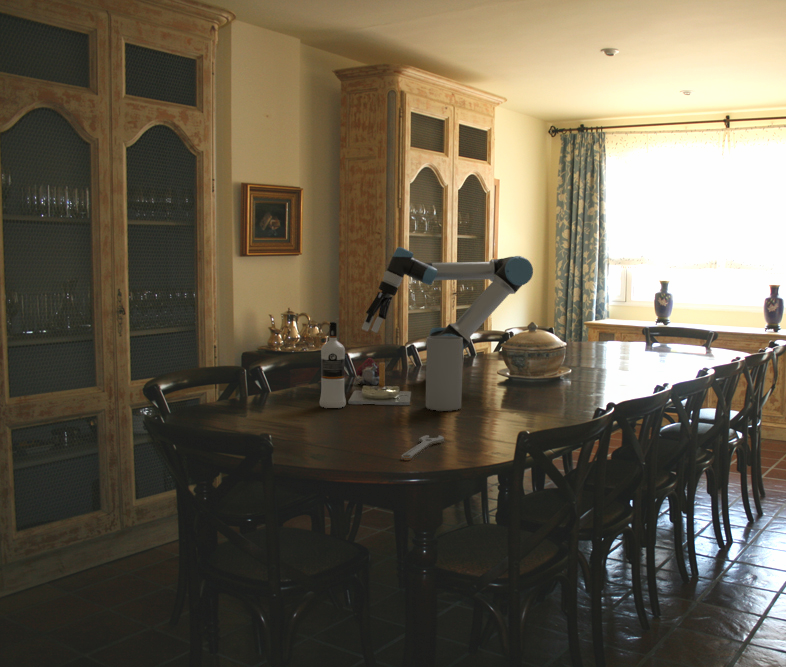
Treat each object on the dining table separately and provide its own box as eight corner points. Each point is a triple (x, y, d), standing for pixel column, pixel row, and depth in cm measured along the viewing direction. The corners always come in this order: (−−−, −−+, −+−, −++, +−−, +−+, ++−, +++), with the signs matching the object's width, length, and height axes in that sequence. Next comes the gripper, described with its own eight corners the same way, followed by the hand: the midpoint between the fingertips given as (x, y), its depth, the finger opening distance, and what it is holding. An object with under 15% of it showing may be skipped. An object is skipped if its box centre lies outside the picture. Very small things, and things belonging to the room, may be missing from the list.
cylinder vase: (418, 407, 258) (419, 337, 256) (443, 403, 266) (445, 335, 264) (442, 413, 249) (444, 340, 247) (468, 409, 257) (470, 338, 255)
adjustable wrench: (409, 463, 188) (409, 456, 188) (387, 460, 191) (387, 453, 191) (446, 442, 211) (446, 435, 211) (426, 439, 214) (426, 433, 213)
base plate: (410, 394, 284) (411, 390, 284) (409, 405, 262) (409, 401, 262) (354, 393, 285) (354, 389, 285) (348, 404, 263) (348, 400, 263)
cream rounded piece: (400, 392, 280) (400, 363, 279) (398, 399, 266) (399, 368, 265) (363, 391, 281) (364, 362, 280) (360, 398, 267) (360, 367, 266)
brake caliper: (384, 376, 314) (382, 356, 306) (381, 395, 306) (379, 375, 298) (358, 375, 315) (355, 355, 307) (355, 394, 307) (352, 374, 299)
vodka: (347, 404, 263) (348, 321, 260) (343, 409, 253) (344, 323, 251) (322, 403, 264) (322, 320, 261) (317, 408, 254) (317, 322, 251)
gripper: (390, 283, 314) (370, 328, 315) (373, 276, 290) (352, 325, 291) (405, 290, 312) (385, 335, 313) (390, 284, 288) (368, 333, 289)
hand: (369, 331), depth 302 cm, fingers open, 13 cm apart
